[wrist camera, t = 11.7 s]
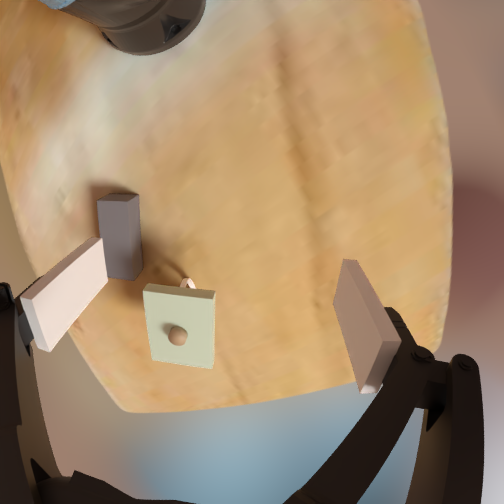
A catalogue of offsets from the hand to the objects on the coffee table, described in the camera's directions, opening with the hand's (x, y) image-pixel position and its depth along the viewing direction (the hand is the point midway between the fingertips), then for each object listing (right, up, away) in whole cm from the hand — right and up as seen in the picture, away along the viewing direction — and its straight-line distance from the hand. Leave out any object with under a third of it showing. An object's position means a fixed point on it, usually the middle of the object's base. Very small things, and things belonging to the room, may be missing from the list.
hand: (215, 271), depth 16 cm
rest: (-17, +4, +28) cm, 33 cm away
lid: (-8, -9, +25) cm, 27 cm away
